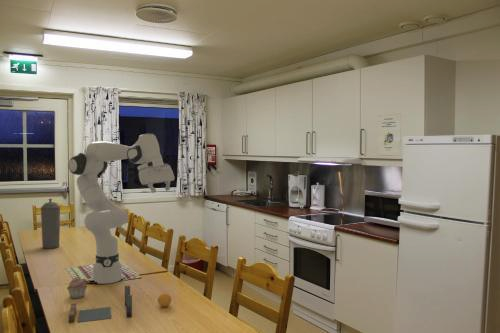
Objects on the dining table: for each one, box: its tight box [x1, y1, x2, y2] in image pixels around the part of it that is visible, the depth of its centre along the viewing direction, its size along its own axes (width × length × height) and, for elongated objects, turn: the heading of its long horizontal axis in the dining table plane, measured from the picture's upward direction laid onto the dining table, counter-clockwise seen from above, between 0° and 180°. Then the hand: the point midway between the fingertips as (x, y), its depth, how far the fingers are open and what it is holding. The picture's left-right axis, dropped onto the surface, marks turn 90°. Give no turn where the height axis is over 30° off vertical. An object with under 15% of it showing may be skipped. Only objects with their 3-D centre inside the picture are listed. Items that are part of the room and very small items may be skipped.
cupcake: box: [66, 275, 88, 299], centre depth 204 cm, size 9×9×10 cm
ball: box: [157, 292, 172, 308], centre depth 192 cm, size 6×6×6 cm
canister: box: [40, 198, 61, 250], centre depth 301 cm, size 13×13×35 cm
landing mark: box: [77, 306, 112, 323], centre depth 183 cm, size 13×13×1 cm
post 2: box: [125, 294, 133, 318], centre depth 181 cm, size 2×2×9 cm
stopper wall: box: [68, 303, 77, 324], centre depth 180 cm, size 14×2×3 cm, turn 19°
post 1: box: [124, 284, 131, 307], centre depth 193 cm, size 2×2×9 cm
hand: (161, 191), depth 207 cm, fingers open, 8 cm apart
